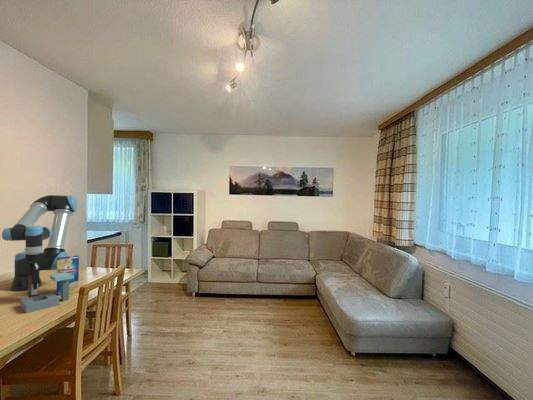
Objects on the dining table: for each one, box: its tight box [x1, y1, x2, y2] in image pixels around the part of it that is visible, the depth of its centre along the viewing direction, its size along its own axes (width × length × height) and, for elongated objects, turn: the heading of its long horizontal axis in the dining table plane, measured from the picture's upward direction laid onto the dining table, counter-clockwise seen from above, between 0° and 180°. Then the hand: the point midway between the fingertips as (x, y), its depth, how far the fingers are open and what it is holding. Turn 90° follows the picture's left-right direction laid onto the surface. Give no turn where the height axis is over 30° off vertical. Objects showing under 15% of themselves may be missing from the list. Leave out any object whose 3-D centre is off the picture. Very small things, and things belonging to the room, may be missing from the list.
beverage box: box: [55, 255, 80, 297], centre depth 170 cm, size 7×11×22 cm, turn 126°
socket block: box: [19, 292, 60, 314], centre depth 150 cm, size 12×14×4 cm
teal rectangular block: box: [49, 272, 71, 302], centre depth 158 cm, size 9×8×15 cm
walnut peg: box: [27, 275, 39, 298], centre depth 158 cm, size 4×4×14 cm
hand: (33, 293), depth 158 cm, fingers closed on walnut peg, 4 cm apart
